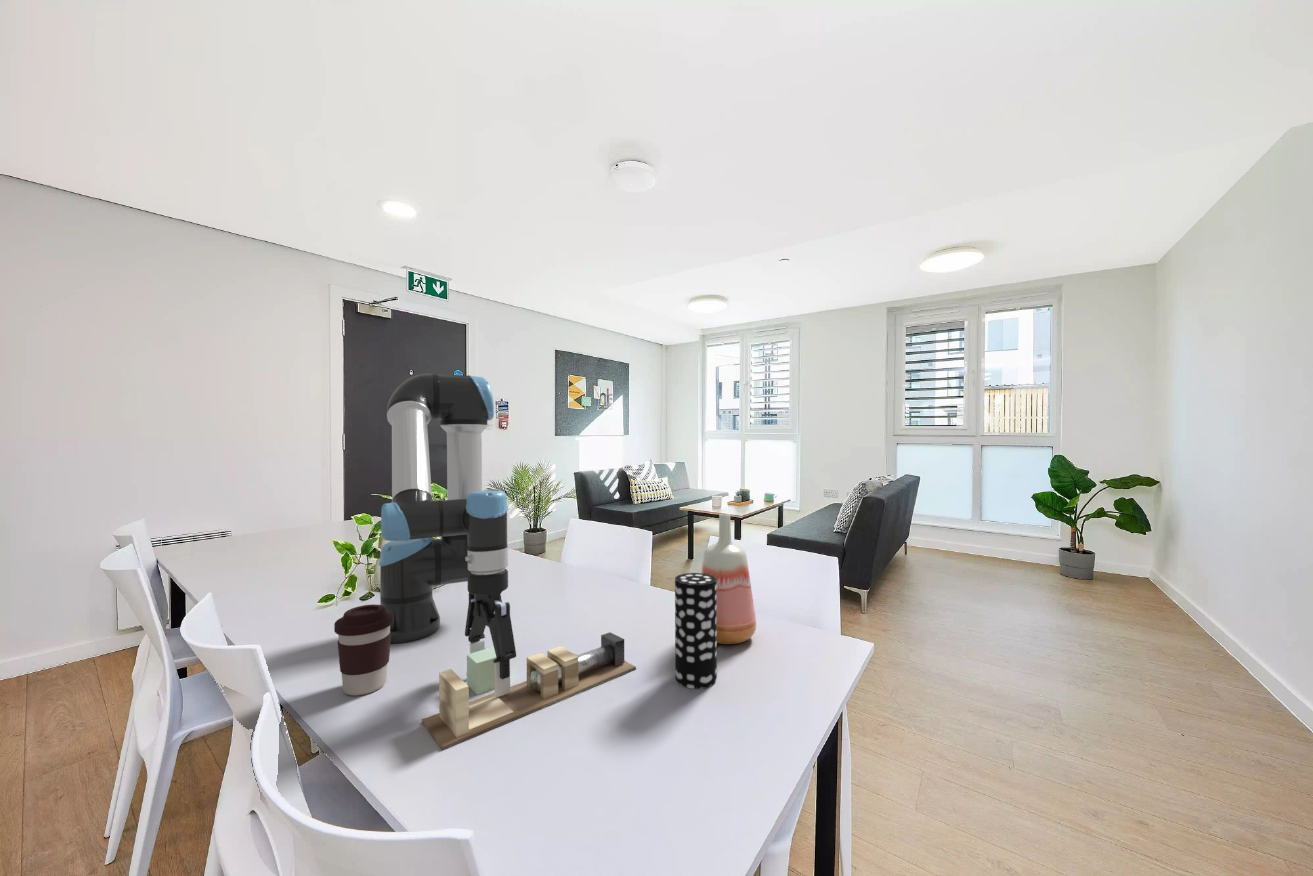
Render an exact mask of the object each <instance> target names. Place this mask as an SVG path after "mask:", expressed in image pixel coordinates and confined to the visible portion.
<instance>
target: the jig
mask: <svg viewBox="0 0 1313 876" xmlns="http://www.w3.org/2000/svg"><path fill="white" fill-rule="evenodd" d="M546 653H547V656H546V655H545V654H543V653H542V652H537V653H535V654H532V655H529V656H527V657H526V680H525V681H523V682H520V683H517V684H514V685H510V693H508V694H505V695H502V696H500V697H497V698H496V697H495V692H493V693H490V694H488V695H484V696H482V697H479V698H477V699H473V700H471V701H469V700H470V696H469V695H470V692H469V691H470V689H469V688H470V687H469V686H468V685H467V682H465V681H464V679H462V678H461V677H460V676H459V675H458V674H457V673H456V672H455V671H454V670H453V669H452V668H449V669H447V670H443V671H440V672H438V673H439V678H438V679H439V682H438V684H439V686H438V687H439V689H438V691H439V694H438V695H439V696H438V699H439V702H438V703H439V707H438V709H439V711H438V713H436V714H432V715H430V716H428V717H424V718H422V719H421V721H422V724H423V726H424V727H425V728H426V730H427V731H428V732H429V734H430V735H431V736H432V738H433V739H434V741H435V742H436V743H437V745H438V746H439V747H440V749H441V750H442V751H444V750H447V749H449V748H450V747H451V748H452V747H453V746H456V745H458V744H460V743H463V742H466V741H467V740H470V739H472V738H475V737H477V736H479V735H482V734H485V733H486V732H489V731H491V730H494V729H497V728H499V727H502V726H503V725H506V724H508V723H510V722H513V721H516V720H518V719H521V718H522V717H525V716H527V715H530V714H532V713H535V712H537V711H539V710H540V711H541V709H544V708H546V707H549V706H551V705H554V704H556V703H559V702H561V701H564V700H565V699H568V698H570V697H573V696H575V695H578V694H580V693H582V692H585V691H587V690H590V689H592V688H594V687H597V686H599V685H601V684H603V683H606V682H609V681H611V680H614V679H615V678H618V677H620V676H622V675H626V674H628V673H631V672H633V671H635V670H636V669H637V666H635V665H634V664H632V663H630V662H628V661H626V660H624V663H623V664H620V665H618V666H613V665H612V664H610V663H609V664H606V665H604V666H601V667H598V668H596V669H593V670H591V671H588V672H586V673H583V674H580V675H579V660H578V656H577V655H576V654H574V653H573V652H571V651H570V650H568V649H566V648H565V647H563V646H561V645H559V646H556V647H554V648H550V649H547V652H546ZM557 662H558V663H560V664H561V665H562V682H560V683H558V664H557ZM535 670H538V671H539V672H540V675H541V690H539V691H535V690H534V689H533V687H532V684H531V679H530V676H531V672H532V671H535Z"/></svg>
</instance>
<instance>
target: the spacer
mask: <svg viewBox="0 0 1313 876" xmlns="http://www.w3.org/2000/svg"><path fill="white" fill-rule="evenodd" d="M495 659H496V654H495V650H494V646H491V647H487V648H485V649H484V650H480V651H477V652H474V653H470V652H469V653H467V654H466V680H467V681H466V684H467V685H468V686H469V688H470V689H471V690H472V691H473V693H475V694H476V695H477V696H478V695H481V694H483V693H487V692H488V691H492V690H495V678H494V662H493V661H494V660H495Z"/></svg>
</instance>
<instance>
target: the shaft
mask: <svg viewBox="0 0 1313 876" xmlns="http://www.w3.org/2000/svg"><path fill="white" fill-rule="evenodd" d="M576 656H578V660H579V675H580V674H583V673H586V672H588V671H591V670H593V669H596V668H598V667H601V666H604V665H606V664H609V663H610V664H612V665H613V666H618V665H620V664H623V663H624V661H625V639H624V638H623V637H621V636H618V635H616V634H614V633H612V632H606V633H604V634H600V647H596V648H594V649H592V650H591V649H590V650H588V651H585V652H582V653H580V654H577V655H576ZM557 664H558V683H560V682H562V665H561V664H560V663H558V662H557ZM530 679H531V684H532V687H533V689H534V690H535V691H539V690H541V675H540V672H539V671H538V670H535V671H532V672H531V676H530Z"/></svg>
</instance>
